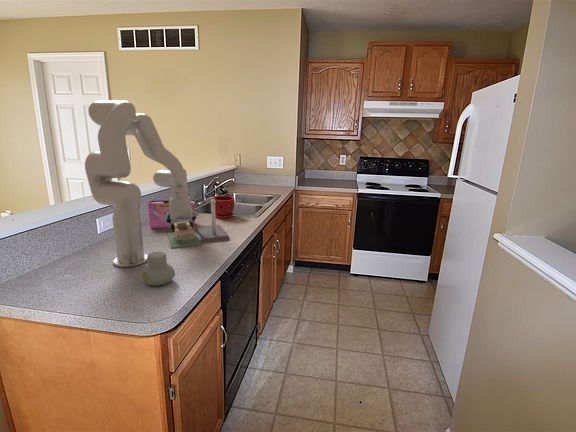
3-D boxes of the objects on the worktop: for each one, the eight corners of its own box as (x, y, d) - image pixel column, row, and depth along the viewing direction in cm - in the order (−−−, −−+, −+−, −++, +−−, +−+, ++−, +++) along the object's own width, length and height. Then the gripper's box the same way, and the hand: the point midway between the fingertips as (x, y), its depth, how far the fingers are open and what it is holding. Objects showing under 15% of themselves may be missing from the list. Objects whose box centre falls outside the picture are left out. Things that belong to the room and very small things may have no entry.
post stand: (228, 239, 151) (227, 200, 146) (203, 242, 146) (201, 201, 141) (219, 228, 169) (218, 192, 164) (196, 230, 164) (194, 193, 159)
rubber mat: (201, 244, 143) (201, 243, 143) (171, 248, 138) (171, 247, 137) (194, 231, 162) (193, 230, 162) (167, 234, 157) (167, 233, 157)
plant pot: (208, 218, 189) (207, 198, 186) (221, 213, 200) (220, 194, 197) (227, 220, 184) (226, 200, 181) (238, 215, 196) (238, 196, 193)
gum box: (197, 223, 178) (196, 199, 174) (196, 227, 170) (194, 202, 167) (153, 224, 174) (151, 200, 170) (149, 228, 166) (147, 203, 163)
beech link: (193, 238, 144) (193, 230, 143) (176, 240, 141) (176, 231, 140) (189, 229, 158) (188, 221, 157) (173, 230, 155) (173, 223, 154)
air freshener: (139, 280, 107) (136, 253, 105) (162, 273, 113) (160, 247, 111) (154, 291, 100) (151, 262, 98) (178, 283, 106) (176, 255, 104)
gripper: (197, 192, 155) (199, 226, 160) (159, 194, 148) (162, 230, 153) (199, 195, 148) (201, 230, 153) (160, 197, 141) (163, 234, 146)
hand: (182, 230), depth 153 cm, fingers closed on beech link, 7 cm apart
